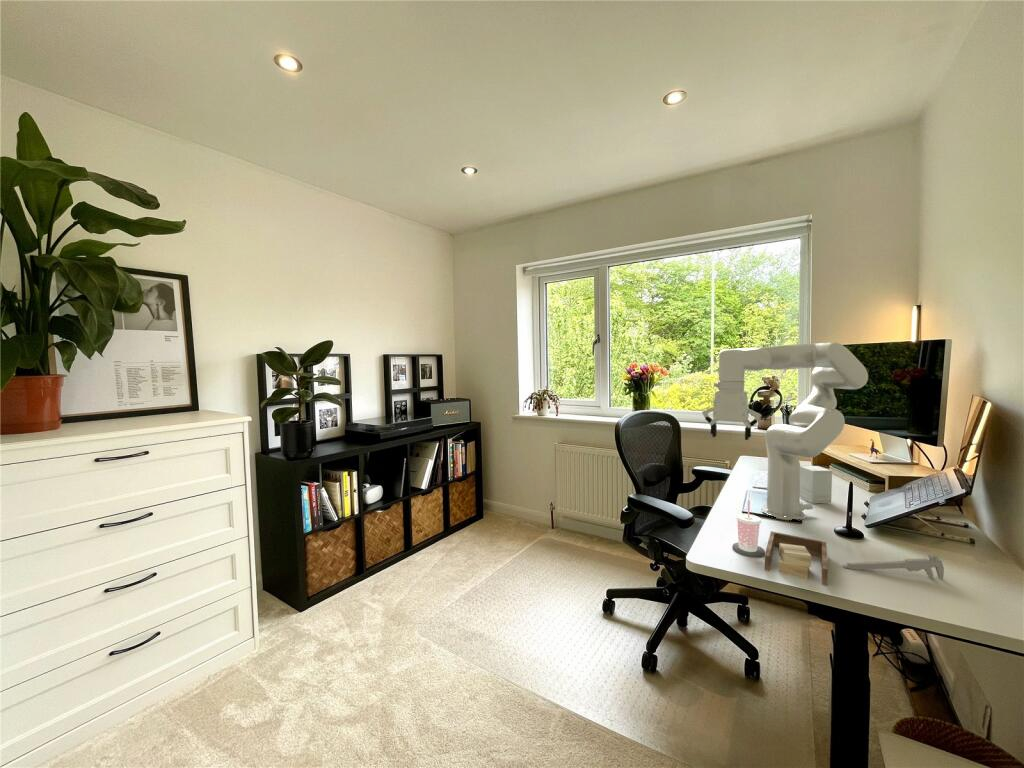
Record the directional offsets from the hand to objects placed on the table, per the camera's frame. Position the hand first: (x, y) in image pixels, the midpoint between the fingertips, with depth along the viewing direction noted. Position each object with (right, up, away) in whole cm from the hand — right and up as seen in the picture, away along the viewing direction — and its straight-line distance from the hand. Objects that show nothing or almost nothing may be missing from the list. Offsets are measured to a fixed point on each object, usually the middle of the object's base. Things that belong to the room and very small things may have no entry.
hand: (730, 437), depth 139 cm
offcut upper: (0, -28, -31) cm, 42 cm away
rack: (+3, -30, -27) cm, 41 cm away
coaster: (-5, -30, -20) cm, 36 cm away
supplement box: (+43, -27, +21) cm, 55 cm away
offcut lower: (0, -31, -31) cm, 44 cm away
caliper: (+23, -31, -33) cm, 51 cm away
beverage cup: (-5, -29, -20) cm, 36 cm away
